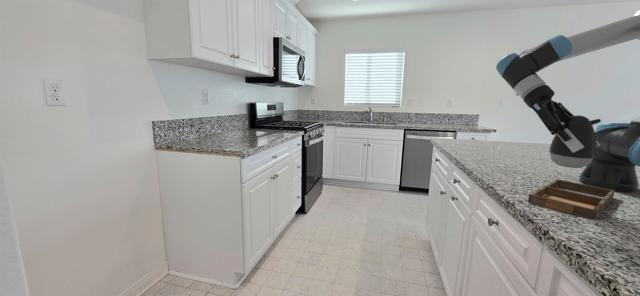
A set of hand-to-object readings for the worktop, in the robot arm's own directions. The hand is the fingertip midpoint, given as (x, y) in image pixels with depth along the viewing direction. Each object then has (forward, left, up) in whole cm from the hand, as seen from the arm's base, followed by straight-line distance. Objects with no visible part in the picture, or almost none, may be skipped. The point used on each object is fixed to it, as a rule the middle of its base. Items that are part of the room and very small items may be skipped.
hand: (586, 148), depth 77 cm
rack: (-5, -2, -17) cm, 18 cm away
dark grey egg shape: (-1, -3, -6) cm, 7 cm away
